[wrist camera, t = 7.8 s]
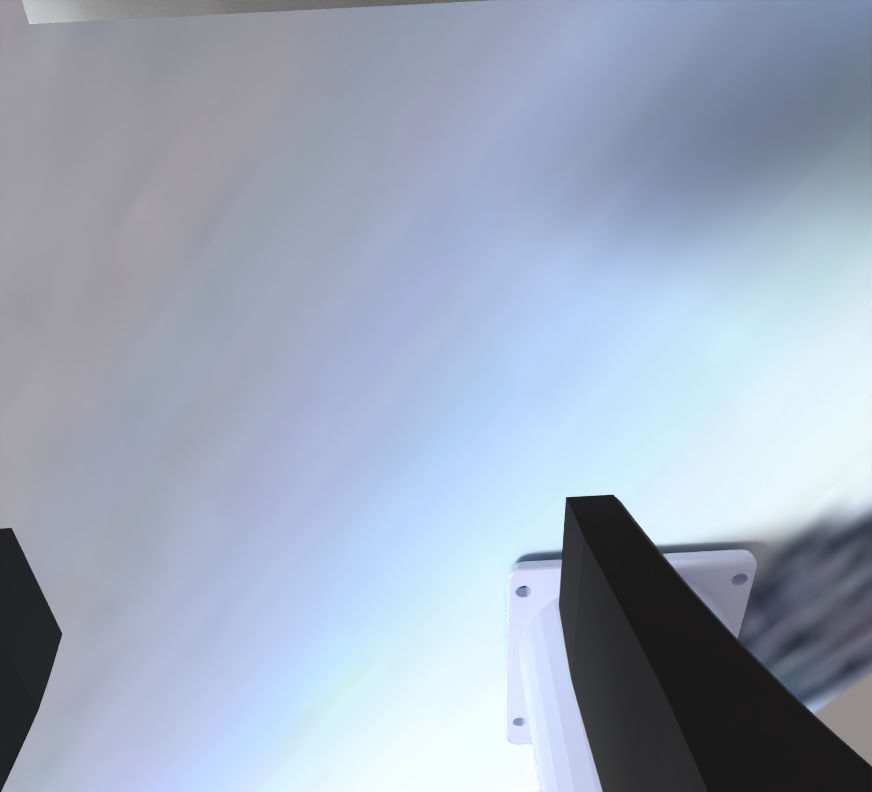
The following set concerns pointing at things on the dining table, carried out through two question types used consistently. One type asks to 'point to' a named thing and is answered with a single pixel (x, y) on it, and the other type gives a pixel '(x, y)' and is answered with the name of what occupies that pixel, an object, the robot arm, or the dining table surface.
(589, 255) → the dining table surface
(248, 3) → the rail
